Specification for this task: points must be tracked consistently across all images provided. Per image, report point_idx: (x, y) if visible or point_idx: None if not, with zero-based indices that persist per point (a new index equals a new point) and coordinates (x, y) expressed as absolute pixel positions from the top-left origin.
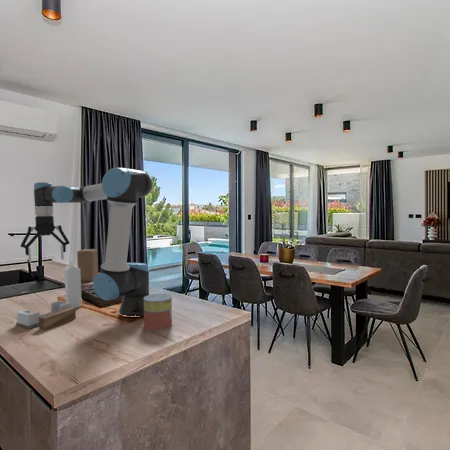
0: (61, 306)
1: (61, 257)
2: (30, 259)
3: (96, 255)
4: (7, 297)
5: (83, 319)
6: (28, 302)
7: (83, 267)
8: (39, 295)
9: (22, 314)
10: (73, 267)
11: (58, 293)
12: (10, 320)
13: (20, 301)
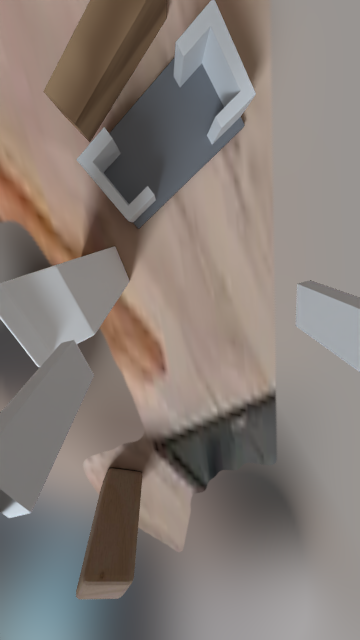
0: (105, 129)
1: (79, 368)
2: (318, 290)
3: (83, 564)
4: (270, 396)
5: (29, 82)
6: (227, 347)
7: (123, 510)
8: (208, 393)
9: (235, 53)
10: (13, 286)
11: (169, 398)
12: (258, 190)
13: (244, 360)
